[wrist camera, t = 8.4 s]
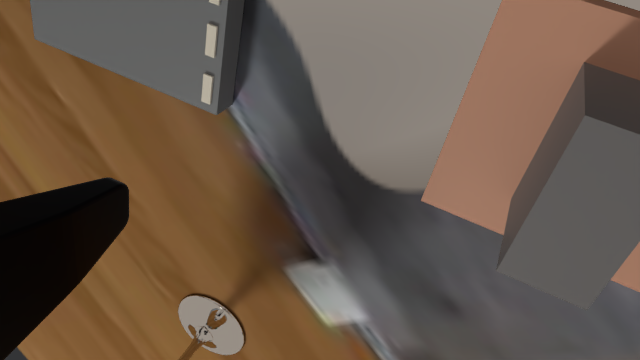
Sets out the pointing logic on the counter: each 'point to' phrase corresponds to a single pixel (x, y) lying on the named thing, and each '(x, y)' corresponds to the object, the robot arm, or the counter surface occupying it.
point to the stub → (552, 146)
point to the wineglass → (209, 326)
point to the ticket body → (152, 42)
